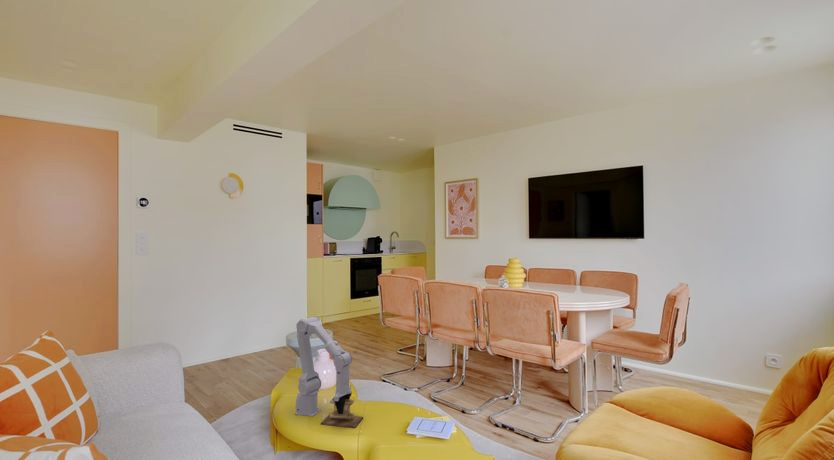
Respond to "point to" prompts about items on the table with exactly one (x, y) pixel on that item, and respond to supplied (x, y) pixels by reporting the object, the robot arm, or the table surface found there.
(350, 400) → the oak stool
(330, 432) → the table surface
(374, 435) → the table surface
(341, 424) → the walnut board
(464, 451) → the table surface
